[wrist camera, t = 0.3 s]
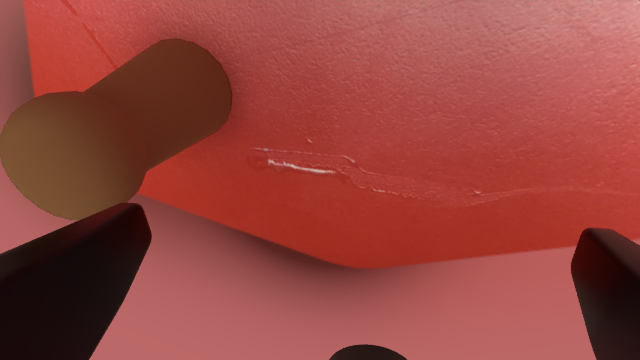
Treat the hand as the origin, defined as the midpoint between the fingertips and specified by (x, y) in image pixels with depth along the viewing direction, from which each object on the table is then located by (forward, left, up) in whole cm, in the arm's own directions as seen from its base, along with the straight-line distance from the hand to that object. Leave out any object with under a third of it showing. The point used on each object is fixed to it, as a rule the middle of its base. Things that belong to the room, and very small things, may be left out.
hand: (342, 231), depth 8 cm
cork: (-2, +11, -15) cm, 19 cm away
